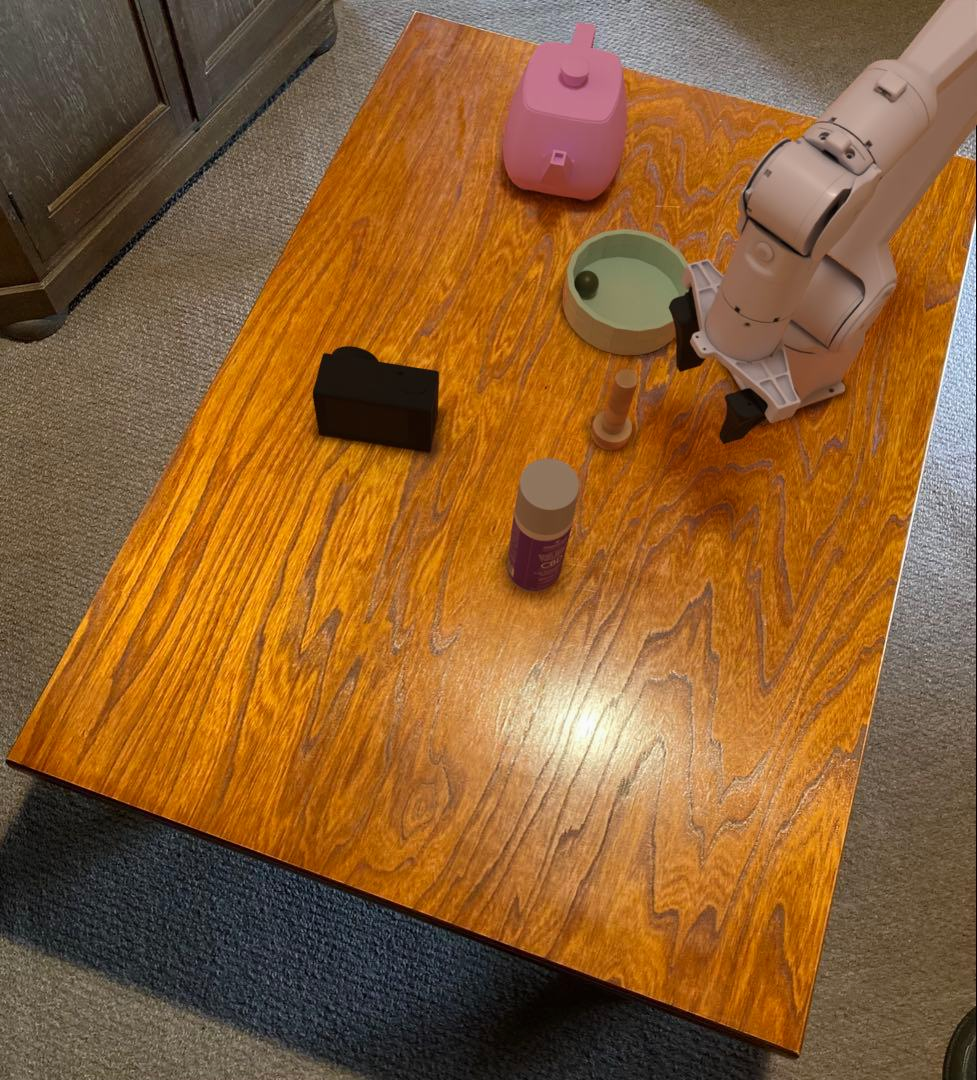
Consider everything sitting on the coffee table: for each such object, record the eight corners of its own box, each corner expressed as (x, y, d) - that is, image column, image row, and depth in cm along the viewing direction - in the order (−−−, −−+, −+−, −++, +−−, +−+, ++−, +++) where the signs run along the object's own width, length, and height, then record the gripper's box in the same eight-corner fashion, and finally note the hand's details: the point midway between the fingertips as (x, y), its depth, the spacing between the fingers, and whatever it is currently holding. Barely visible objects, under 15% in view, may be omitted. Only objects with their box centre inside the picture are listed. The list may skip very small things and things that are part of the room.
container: (540, 603, 92) (558, 522, 78) (495, 573, 93) (505, 489, 79) (570, 563, 94) (593, 477, 80) (526, 534, 95) (541, 445, 81)
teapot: (518, 91, 119) (528, -13, 107) (629, 111, 118) (651, 9, 107) (484, 226, 110) (492, 129, 99) (604, 248, 110) (626, 153, 98)
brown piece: (629, 418, 101) (647, 362, 93) (629, 451, 99) (648, 397, 91) (590, 416, 101) (605, 359, 92) (590, 449, 99) (606, 394, 91)
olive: (569, 296, 106) (580, 283, 107) (592, 303, 105) (602, 289, 106) (570, 276, 104) (580, 263, 105) (593, 282, 103) (603, 269, 105)
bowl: (650, 243, 110) (658, 215, 107) (706, 335, 105) (717, 309, 102) (542, 275, 108) (546, 248, 104) (595, 371, 103) (601, 346, 99)
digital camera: (441, 403, 100) (443, 359, 94) (431, 453, 98) (432, 410, 92) (331, 386, 100) (325, 340, 94) (318, 435, 98) (312, 391, 92)
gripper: (665, 232, 79) (628, 347, 91) (762, 384, 74) (708, 486, 85) (747, 210, 81) (700, 326, 93) (848, 357, 75) (784, 460, 87)
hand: (709, 401), depth 89 cm, fingers open, 7 cm apart
